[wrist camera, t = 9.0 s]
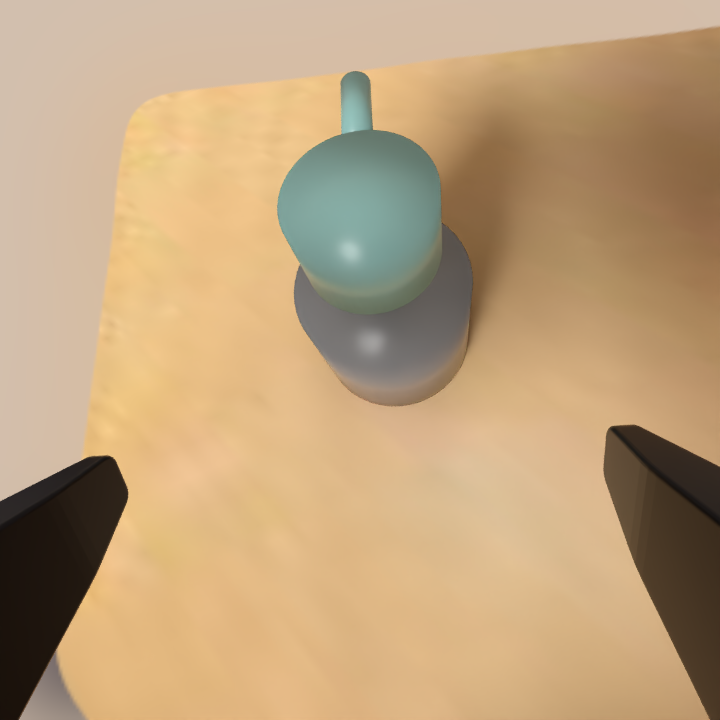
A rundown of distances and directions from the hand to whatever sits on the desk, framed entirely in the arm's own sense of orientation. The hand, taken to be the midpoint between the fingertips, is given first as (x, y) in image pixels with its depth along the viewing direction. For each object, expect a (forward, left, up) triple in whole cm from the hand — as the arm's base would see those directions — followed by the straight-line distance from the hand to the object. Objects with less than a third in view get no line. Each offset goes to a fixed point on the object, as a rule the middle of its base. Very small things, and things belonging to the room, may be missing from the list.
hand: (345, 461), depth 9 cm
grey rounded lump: (+7, +4, -14) cm, 16 cm away
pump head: (+8, +4, -8) cm, 12 cm away
